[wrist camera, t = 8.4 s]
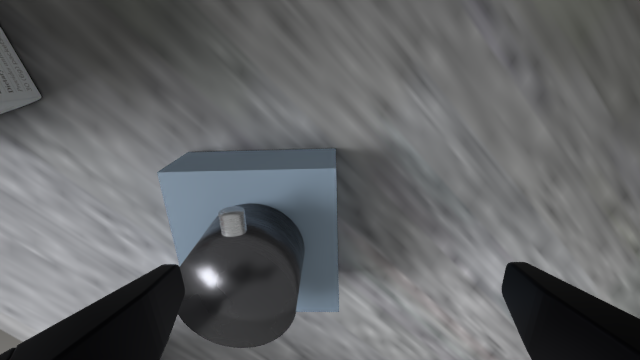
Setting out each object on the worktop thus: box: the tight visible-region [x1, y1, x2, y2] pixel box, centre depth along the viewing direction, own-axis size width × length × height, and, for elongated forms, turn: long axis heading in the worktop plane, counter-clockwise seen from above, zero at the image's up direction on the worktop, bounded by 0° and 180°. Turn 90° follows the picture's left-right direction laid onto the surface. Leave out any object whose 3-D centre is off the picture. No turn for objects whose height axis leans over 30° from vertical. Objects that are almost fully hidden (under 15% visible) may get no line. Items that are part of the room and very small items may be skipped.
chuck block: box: [157, 148, 339, 312], centre depth 21 cm, size 10×10×4 cm
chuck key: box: [178, 203, 305, 348], centre depth 19 cm, size 8×6×8 cm
